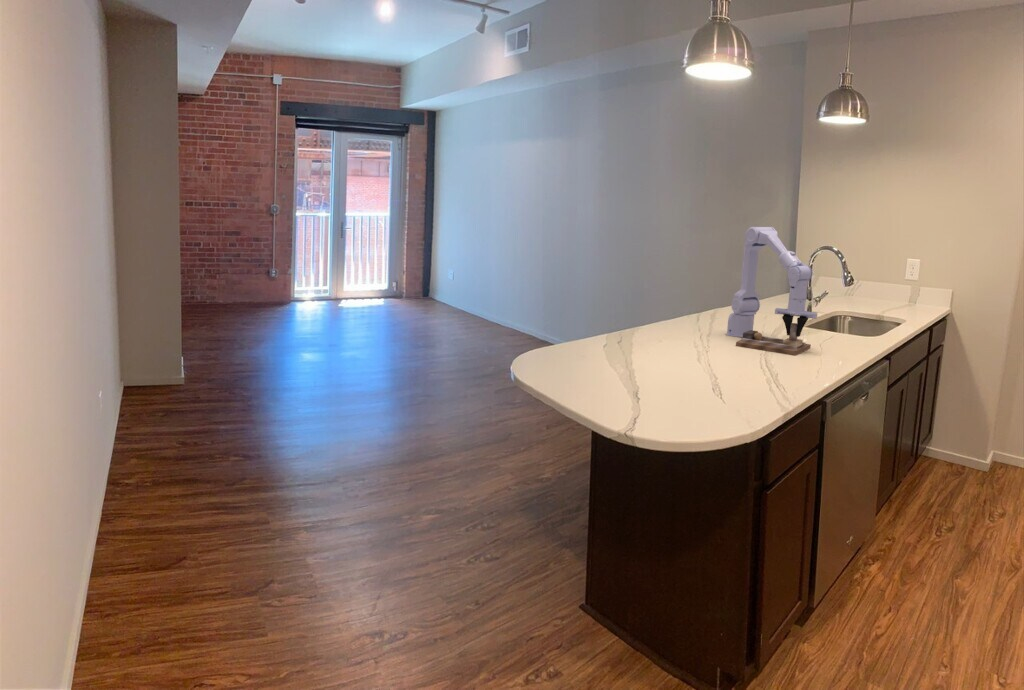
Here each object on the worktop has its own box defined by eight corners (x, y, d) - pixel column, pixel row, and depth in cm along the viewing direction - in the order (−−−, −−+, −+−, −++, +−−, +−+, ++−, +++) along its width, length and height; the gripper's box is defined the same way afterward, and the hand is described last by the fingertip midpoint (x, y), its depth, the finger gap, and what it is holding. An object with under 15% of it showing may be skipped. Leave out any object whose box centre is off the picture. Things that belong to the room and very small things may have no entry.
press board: (735, 345, 269) (736, 333, 268) (752, 339, 281) (753, 327, 280) (795, 355, 256) (796, 342, 255) (810, 348, 268) (811, 336, 267)
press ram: (782, 345, 263) (784, 324, 261) (788, 343, 268) (790, 321, 266) (796, 347, 260) (798, 325, 258) (802, 345, 265) (804, 323, 263)
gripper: (773, 297, 262) (769, 334, 265) (814, 302, 253) (810, 340, 256) (780, 295, 267) (776, 331, 270) (820, 300, 258) (816, 337, 261)
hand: (793, 335), depth 263 cm, fingers closed on press ram, 3 cm apart
